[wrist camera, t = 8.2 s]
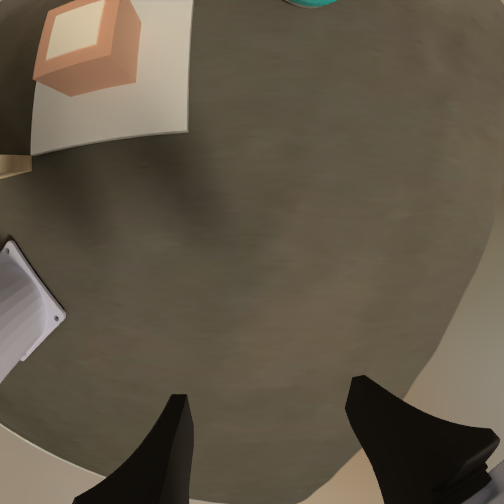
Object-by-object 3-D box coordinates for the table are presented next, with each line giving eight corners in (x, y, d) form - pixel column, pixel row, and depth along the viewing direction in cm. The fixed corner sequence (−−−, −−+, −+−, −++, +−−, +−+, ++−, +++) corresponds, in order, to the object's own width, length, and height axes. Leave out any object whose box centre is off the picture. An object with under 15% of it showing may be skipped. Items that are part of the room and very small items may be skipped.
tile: (194, -9, 14) (194, -15, 13) (188, 132, 17) (187, 130, 16) (54, 22, 13) (50, 19, 12) (36, 155, 16) (30, 155, 15)
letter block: (141, 22, 14) (122, -16, 9) (135, 82, 15) (109, 53, 10) (78, 38, 13) (47, 10, 8) (70, 97, 14) (31, 78, 9)
